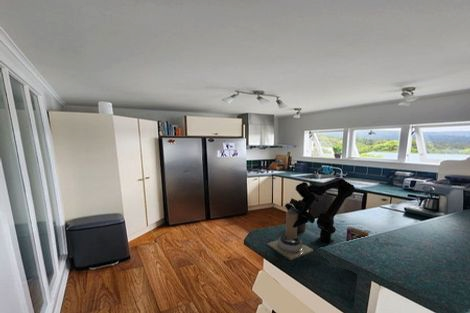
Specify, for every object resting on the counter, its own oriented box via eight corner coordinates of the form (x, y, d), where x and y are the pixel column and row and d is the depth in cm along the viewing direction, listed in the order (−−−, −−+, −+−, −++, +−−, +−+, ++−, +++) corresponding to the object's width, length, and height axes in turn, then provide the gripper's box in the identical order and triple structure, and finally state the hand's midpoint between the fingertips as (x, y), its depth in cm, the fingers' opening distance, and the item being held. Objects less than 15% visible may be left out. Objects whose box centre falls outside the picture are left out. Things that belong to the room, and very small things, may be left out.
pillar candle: (292, 231, 134) (294, 209, 132) (288, 225, 143) (290, 204, 142) (307, 232, 134) (309, 209, 132) (302, 226, 143) (304, 205, 142)
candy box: (366, 261, 102) (369, 231, 101) (364, 265, 99) (367, 234, 98) (346, 254, 109) (349, 226, 107) (344, 257, 105) (346, 228, 104)
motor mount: (288, 238, 125) (289, 229, 124) (313, 251, 110) (313, 242, 110) (267, 244, 115) (267, 235, 115) (290, 260, 101) (291, 250, 101)
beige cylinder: (295, 234, 115) (296, 209, 114) (298, 239, 109) (299, 213, 108) (284, 233, 115) (285, 209, 114) (286, 238, 109) (287, 212, 108)
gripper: (287, 189, 120) (271, 210, 116) (312, 198, 103) (293, 222, 100) (297, 201, 124) (281, 221, 120) (322, 211, 107) (305, 235, 103)
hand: (289, 224), depth 111 cm, fingers closed on beige cylinder, 6 cm apart
